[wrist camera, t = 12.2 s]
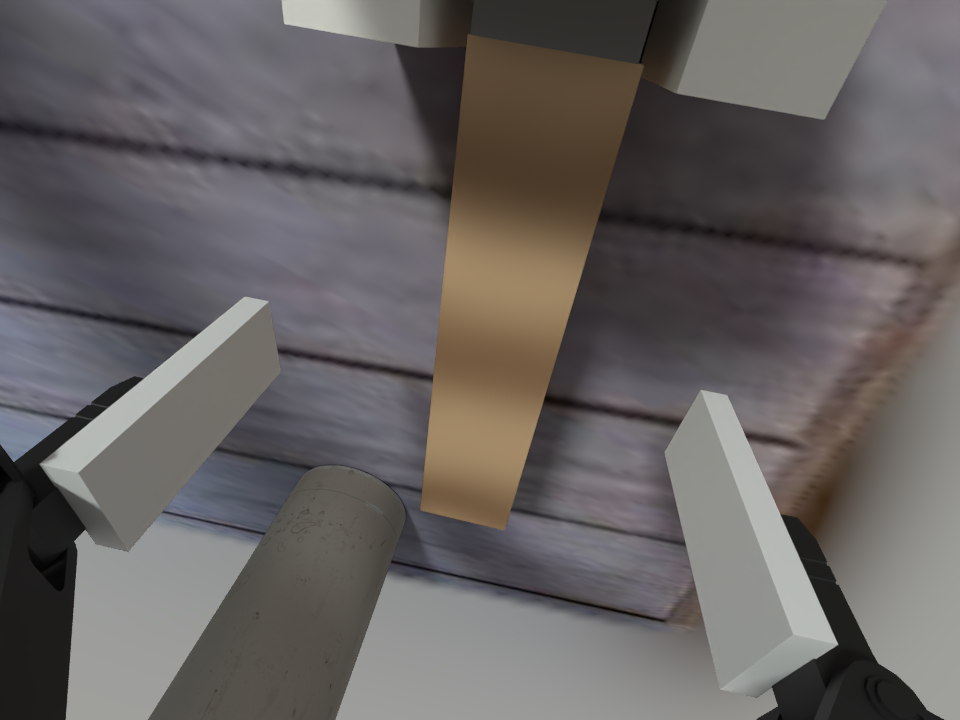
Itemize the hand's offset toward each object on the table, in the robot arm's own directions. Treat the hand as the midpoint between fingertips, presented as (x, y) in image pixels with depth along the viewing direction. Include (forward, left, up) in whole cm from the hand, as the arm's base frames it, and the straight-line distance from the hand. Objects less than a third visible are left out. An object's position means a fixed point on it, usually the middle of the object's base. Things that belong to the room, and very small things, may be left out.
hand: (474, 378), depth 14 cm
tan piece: (0, 0, -7) cm, 7 cm away
